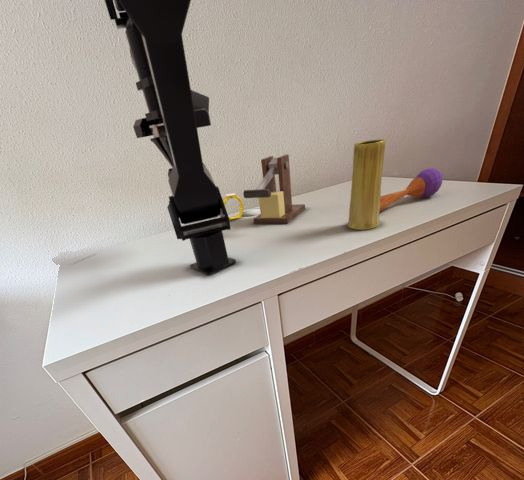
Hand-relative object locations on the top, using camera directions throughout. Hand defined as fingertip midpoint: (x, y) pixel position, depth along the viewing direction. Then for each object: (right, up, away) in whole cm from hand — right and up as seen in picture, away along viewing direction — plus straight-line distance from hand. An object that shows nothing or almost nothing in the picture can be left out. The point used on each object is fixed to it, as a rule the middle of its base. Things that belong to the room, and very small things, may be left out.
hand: (183, 177), depth 58 cm
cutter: (+20, 0, +16) cm, 26 cm away
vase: (+37, -9, +3) cm, 38 cm away
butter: (+18, -2, +13) cm, 23 cm away
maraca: (+49, 0, +10) cm, 50 cm away
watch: (+8, +1, +21) cm, 22 cm away
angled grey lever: (+17, +3, +8) cm, 19 cm away
